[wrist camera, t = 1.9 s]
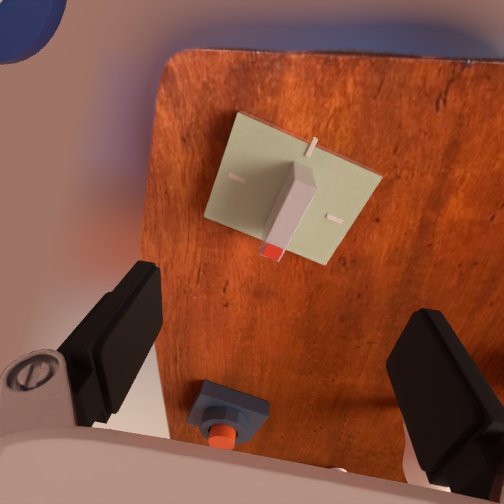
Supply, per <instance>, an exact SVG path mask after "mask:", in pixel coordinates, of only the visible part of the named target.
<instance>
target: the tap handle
mask: <svg viewBox="0 0 504 504" xmlns="http://www.w3.org/2000/svg"><path fill="white" fill-rule="evenodd" d="M316 192H317V186H316V182H315V178H314V174H313V170H312V168H309V167H307V166H305V165H302V164H300V163H298V162H296V161H293V163H292V165H291V168H290V170H289V172H288V174H287V176H286V178H285V181H284V183H283V185H282V187H281V189H280V191H279V193H278V196H277V198H276V200H275V202H274V204H273V206H272V208H271V211H270V213H269V215H268V217H267V219H266V221H265V224H264V227H263V233H262V239H261V245H260V251H259V254H260V255H262V256H265V257H267V258H270V259H272V260H275V261H277V262H279V261H280V259H281V257H282V255H283V253H284V251H285V249H286V248H287V246H288V244H289V242H290V240H291V238H292V236H293V235H294V233H295V231H296V229H297V227H298V225H299V223H300V222H301V220H302V218H303V216H304V214H305V212H306V210H307V209H308V207H309V205H310V203H311V201H312V199H313V197H314V196H315V194H316Z"/></svg>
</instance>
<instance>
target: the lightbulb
mask: <svg viewBox="0 0 504 504" xmlns="http://www.w3.org/2000/svg"><path fill="white" fill-rule="evenodd" d="M401 414H402V413H401ZM402 417H403V416H402ZM403 421H404V419H403ZM403 427H404V431H405V437H406V446H405V450H404V456H403V471H404V474H405V477H406V480H407V482H408V484H411V485H417V486H422V487H427V488H432V489H437V490H441V491H446V492H451V491H450V488H449V487H443V486H437V485H432V484H429V481H428V478H427V476H426V473H425V471H423V470H422V469H421V468H420V466H419V464H418V461H417V458H416V455H415V452H414V449H413V446H412V443H411V440H410V437H409V434H408V431H407V428H406V425H405V422H404V423H403Z"/></svg>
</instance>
